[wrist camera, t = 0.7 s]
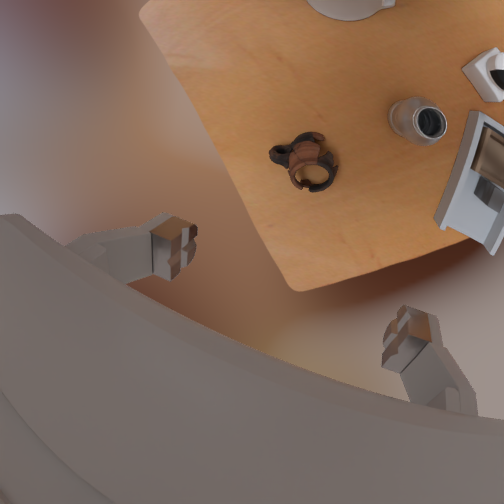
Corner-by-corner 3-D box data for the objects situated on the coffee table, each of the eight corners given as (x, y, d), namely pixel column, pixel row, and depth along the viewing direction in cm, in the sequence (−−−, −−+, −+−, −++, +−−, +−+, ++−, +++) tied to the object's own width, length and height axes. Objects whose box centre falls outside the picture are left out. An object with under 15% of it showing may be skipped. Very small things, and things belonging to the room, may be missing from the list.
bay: (469, 110, 31) (479, 111, 27) (523, 146, 28) (535, 151, 24) (433, 217, 43) (439, 228, 39) (485, 243, 40) (493, 255, 36)
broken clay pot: (339, 132, 44) (344, 161, 40) (329, 170, 52) (331, 200, 48) (272, 122, 45) (267, 150, 40) (269, 162, 53) (264, 192, 48)
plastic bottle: (425, 135, 37) (463, 151, 21) (390, 138, 40) (408, 154, 24) (418, 99, 35) (453, 92, 19) (382, 102, 38) (396, 95, 22)
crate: (477, 125, 31) (493, 128, 25) (517, 152, 28) (535, 159, 23) (458, 185, 37) (471, 196, 32) (497, 208, 35) (512, 222, 29)
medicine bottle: (504, 85, 25) (536, 83, 15) (484, 102, 29) (514, 103, 19) (481, 52, 24) (509, 41, 14) (460, 69, 28) (485, 59, 18)
